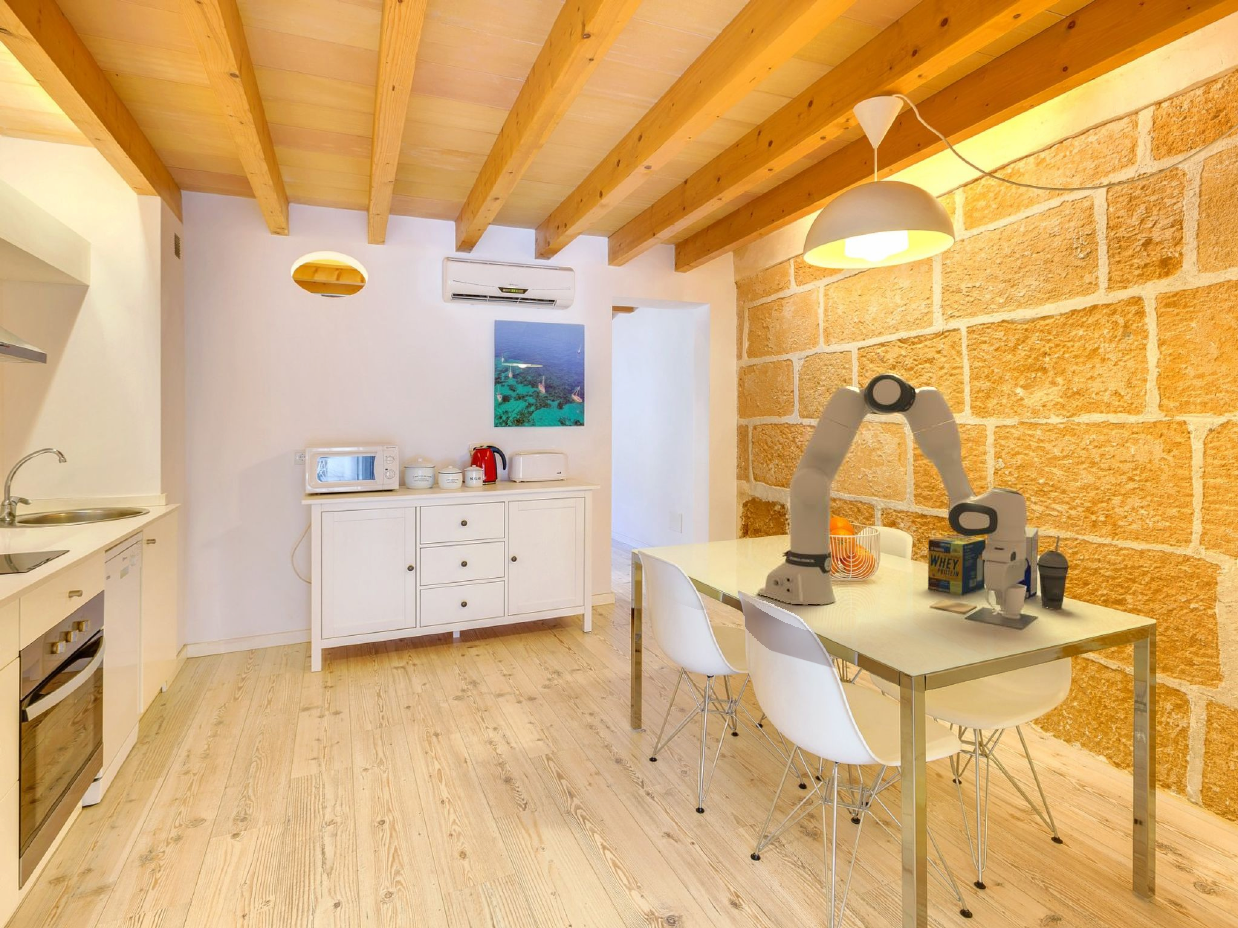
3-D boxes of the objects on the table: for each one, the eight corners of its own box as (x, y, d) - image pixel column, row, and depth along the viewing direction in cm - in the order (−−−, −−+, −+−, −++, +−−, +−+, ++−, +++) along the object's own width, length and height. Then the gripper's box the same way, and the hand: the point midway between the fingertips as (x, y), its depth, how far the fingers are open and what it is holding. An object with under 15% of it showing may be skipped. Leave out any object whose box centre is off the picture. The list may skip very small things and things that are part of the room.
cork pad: (929, 607, 178) (929, 605, 178) (942, 601, 184) (942, 599, 184) (964, 614, 172) (964, 612, 172) (976, 607, 178) (976, 605, 178)
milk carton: (1037, 594, 190) (1039, 527, 189) (1030, 598, 186) (1031, 530, 185) (1010, 590, 196) (1011, 525, 195) (1003, 594, 191) (1004, 527, 190)
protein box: (927, 589, 199) (927, 539, 198) (951, 581, 208) (952, 534, 207) (961, 596, 190) (962, 544, 189) (985, 587, 199) (986, 538, 199)
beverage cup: (1042, 601, 182) (1044, 532, 181) (1072, 607, 177) (1074, 535, 176) (1031, 606, 178) (1033, 534, 177) (1061, 612, 172) (1063, 538, 171)
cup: (1017, 621, 164) (1018, 590, 163) (978, 612, 172) (979, 582, 172) (1032, 616, 167) (1032, 586, 167) (993, 608, 176) (994, 578, 175)
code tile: (964, 618, 168) (964, 617, 168) (983, 608, 177) (983, 606, 177) (1021, 629, 158) (1021, 628, 158) (1037, 617, 168) (1037, 616, 168)
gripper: (1005, 543, 178) (1004, 592, 179) (979, 553, 164) (978, 607, 165) (1031, 546, 173) (1030, 596, 174) (1007, 557, 159) (1006, 612, 160)
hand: (1005, 602), depth 169 cm, fingers closed on cup, 6 cm apart
